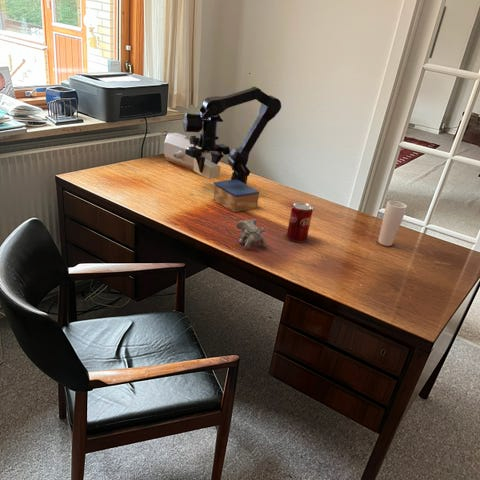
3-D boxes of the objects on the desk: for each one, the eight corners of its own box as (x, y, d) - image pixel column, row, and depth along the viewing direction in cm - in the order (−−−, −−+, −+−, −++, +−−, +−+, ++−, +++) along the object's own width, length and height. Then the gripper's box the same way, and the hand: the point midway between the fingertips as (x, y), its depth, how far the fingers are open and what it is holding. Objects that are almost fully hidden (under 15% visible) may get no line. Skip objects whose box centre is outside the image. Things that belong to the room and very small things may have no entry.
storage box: (213, 200, 190) (214, 185, 187) (235, 196, 197) (237, 182, 194) (234, 212, 182) (236, 197, 179) (257, 207, 189) (259, 193, 185)
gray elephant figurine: (251, 253, 154) (254, 231, 150) (224, 239, 160) (226, 218, 156) (268, 245, 161) (272, 224, 156) (242, 233, 167) (245, 212, 162)
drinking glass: (384, 248, 170) (396, 208, 161) (371, 240, 175) (383, 201, 166) (398, 246, 173) (411, 207, 164) (385, 238, 177) (397, 199, 169)
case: (193, 170, 200) (194, 159, 197) (203, 169, 203) (204, 158, 200) (208, 179, 193) (209, 167, 191) (219, 177, 196) (220, 166, 194)
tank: (155, 162, 222) (155, 134, 215) (179, 157, 233) (180, 130, 226) (194, 177, 210) (196, 148, 203) (218, 171, 221) (220, 144, 214)
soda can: (308, 237, 170) (315, 205, 164) (304, 244, 165) (310, 211, 158) (289, 232, 172) (295, 200, 165) (284, 239, 166) (289, 206, 160)
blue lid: (213, 184, 187) (213, 182, 187) (236, 180, 194) (236, 178, 193) (235, 197, 179) (236, 195, 178) (259, 193, 185) (259, 191, 185)
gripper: (216, 126, 199) (213, 163, 208) (178, 128, 188) (177, 168, 197) (232, 133, 192) (228, 171, 201) (194, 136, 182) (192, 176, 190)
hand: (206, 171), depth 198 cm, fingers closed on case, 5 cm apart
